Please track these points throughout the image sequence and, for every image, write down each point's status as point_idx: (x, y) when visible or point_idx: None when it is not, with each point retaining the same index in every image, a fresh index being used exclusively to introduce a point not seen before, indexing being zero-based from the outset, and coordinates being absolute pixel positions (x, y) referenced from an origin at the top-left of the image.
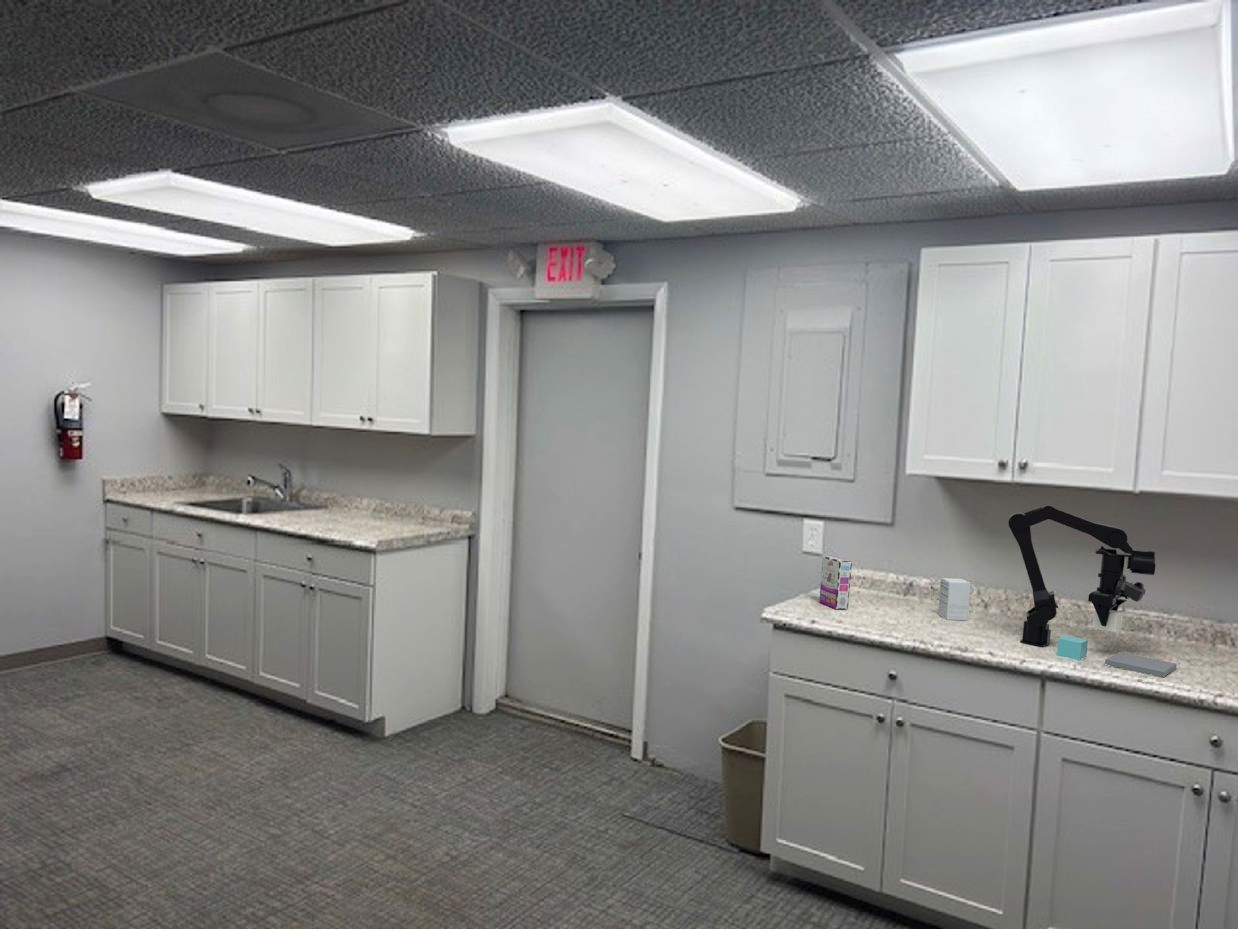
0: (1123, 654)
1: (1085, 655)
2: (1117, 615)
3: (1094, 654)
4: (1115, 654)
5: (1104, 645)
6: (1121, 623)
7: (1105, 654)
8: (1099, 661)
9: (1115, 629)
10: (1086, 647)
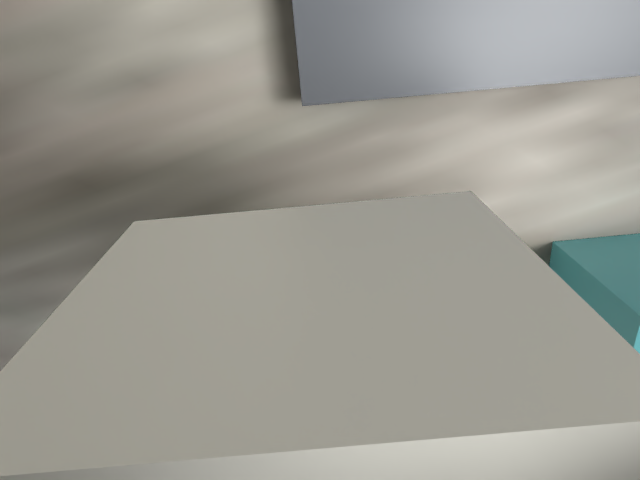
0: (392, 36)
1: (591, 246)
2: (616, 391)
3: None
4: (469, 85)
5: (19, 310)
6: (125, 267)
7: (319, 199)
8: (623, 135)
9: (489, 209)
10: (622, 278)
